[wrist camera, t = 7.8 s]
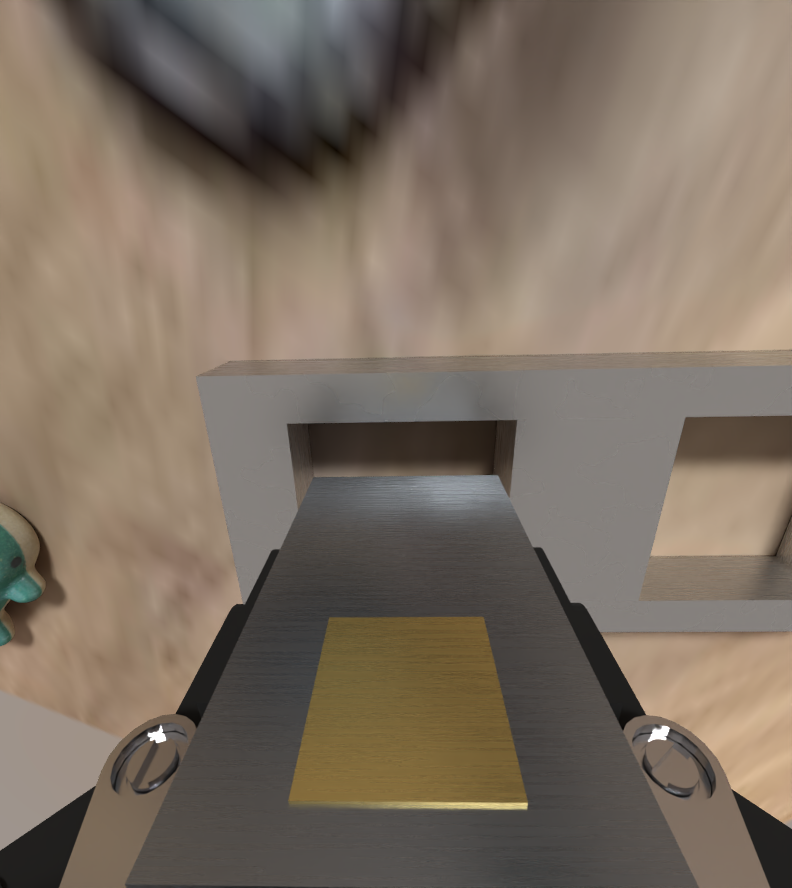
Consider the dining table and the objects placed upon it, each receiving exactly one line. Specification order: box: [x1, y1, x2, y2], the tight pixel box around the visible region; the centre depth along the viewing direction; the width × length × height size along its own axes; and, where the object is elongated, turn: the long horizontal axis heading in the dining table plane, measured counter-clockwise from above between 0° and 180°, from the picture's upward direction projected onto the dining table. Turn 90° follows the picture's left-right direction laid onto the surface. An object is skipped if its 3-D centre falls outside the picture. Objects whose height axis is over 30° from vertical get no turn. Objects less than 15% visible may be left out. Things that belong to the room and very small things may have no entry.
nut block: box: [125, 475, 699, 888], centre depth 8 cm, size 5×5×8 cm
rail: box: [196, 350, 792, 632], centre depth 15 cm, size 24×10×2 cm, turn 91°
